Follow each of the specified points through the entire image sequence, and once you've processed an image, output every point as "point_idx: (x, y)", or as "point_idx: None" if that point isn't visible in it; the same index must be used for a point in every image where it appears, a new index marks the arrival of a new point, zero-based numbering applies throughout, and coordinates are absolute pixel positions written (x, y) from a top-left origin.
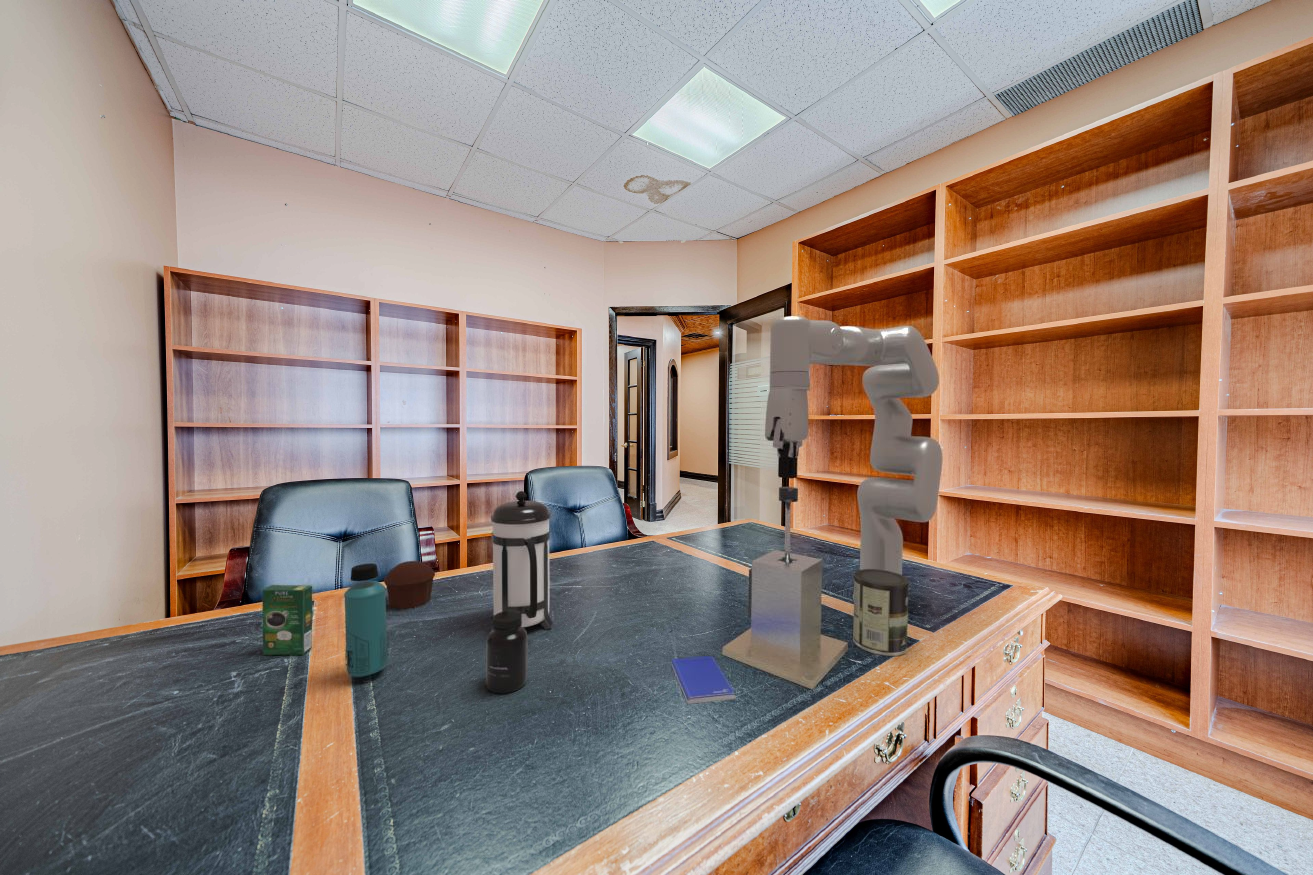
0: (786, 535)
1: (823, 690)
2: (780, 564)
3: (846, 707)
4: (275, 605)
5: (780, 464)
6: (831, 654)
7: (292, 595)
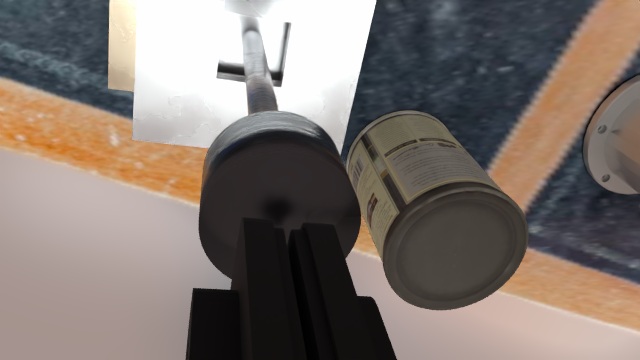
0: (246, 85)
1: (125, 101)
2: (174, 43)
3: (94, 150)
4: None
5: (242, 335)
6: None
7: None
